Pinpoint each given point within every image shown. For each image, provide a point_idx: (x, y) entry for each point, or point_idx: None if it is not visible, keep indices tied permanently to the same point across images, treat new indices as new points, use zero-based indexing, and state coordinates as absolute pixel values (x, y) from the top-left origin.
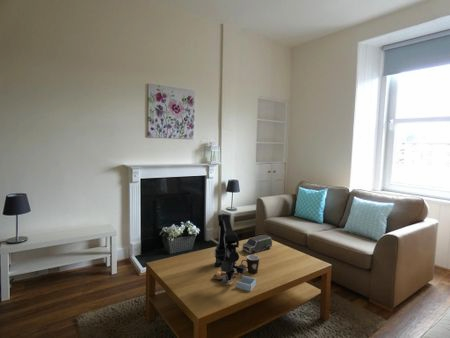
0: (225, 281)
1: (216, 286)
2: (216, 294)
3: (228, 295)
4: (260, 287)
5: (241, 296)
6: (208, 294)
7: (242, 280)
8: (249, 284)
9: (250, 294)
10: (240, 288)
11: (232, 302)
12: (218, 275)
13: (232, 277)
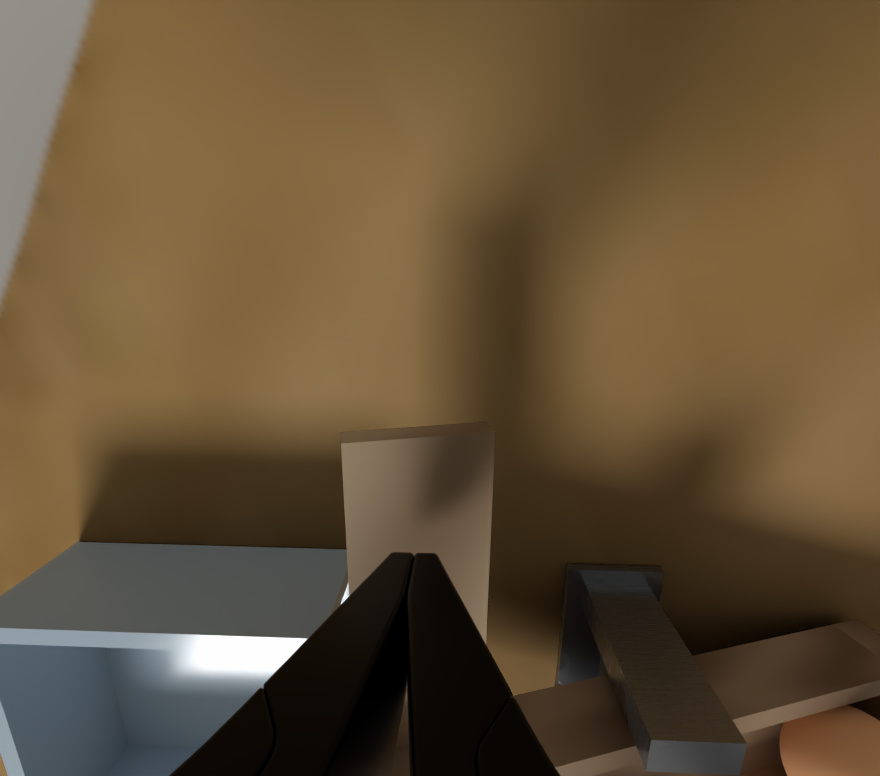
0: (596, 609)
1: (712, 424)
2: (595, 134)
3: (345, 229)
4: None
5: (114, 321)
6: (775, 33)
7: None
8: (193, 703)
9: (26, 456)
10: (266, 548)
11: (135, 6)
12: (828, 724)
13: None
